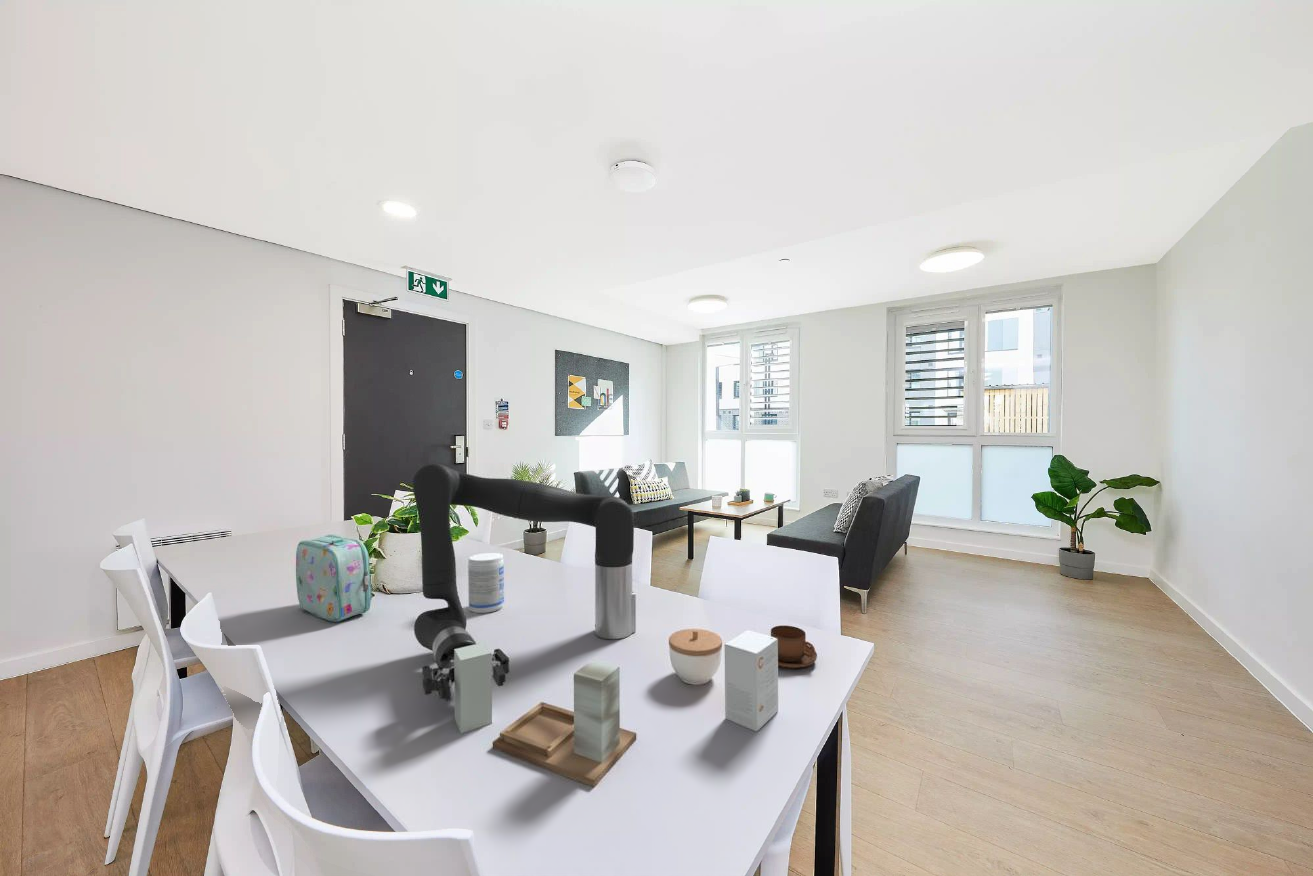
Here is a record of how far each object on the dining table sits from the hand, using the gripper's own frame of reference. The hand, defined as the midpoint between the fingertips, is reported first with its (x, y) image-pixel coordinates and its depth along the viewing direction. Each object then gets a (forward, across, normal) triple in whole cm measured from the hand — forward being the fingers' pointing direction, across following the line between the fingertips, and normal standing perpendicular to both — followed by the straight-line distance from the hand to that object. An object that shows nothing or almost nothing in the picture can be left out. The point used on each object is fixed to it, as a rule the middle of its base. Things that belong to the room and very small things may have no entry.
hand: (475, 687), depth 82 cm
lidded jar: (+7, +41, +7) cm, 42 cm away
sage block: (-2, 0, +6) cm, 7 cm away
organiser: (+13, +11, +6) cm, 18 cm away
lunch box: (-77, -20, +7) cm, 80 cm away
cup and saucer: (+12, +63, +7) cm, 64 cm away
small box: (+23, +41, +7) cm, 48 cm away
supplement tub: (-57, +16, +7) cm, 59 cm away
